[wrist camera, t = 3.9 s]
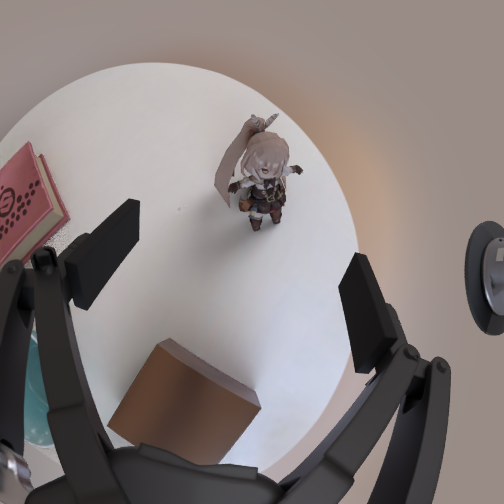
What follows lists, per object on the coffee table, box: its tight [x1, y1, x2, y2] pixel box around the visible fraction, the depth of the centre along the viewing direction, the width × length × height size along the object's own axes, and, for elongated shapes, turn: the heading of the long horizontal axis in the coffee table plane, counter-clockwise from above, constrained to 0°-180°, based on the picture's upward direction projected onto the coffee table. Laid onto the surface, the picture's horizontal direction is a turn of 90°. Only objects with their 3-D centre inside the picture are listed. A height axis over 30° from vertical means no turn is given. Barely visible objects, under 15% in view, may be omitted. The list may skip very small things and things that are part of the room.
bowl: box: [24, 331, 55, 448], centre depth 24 cm, size 16×16×8 cm
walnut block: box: [107, 338, 261, 465], centre depth 26 cm, size 12×12×6 cm
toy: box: [214, 113, 303, 231], centre depth 29 cm, size 9×8×15 cm
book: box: [0, 141, 70, 272], centre depth 29 cm, size 14×15×5 cm
